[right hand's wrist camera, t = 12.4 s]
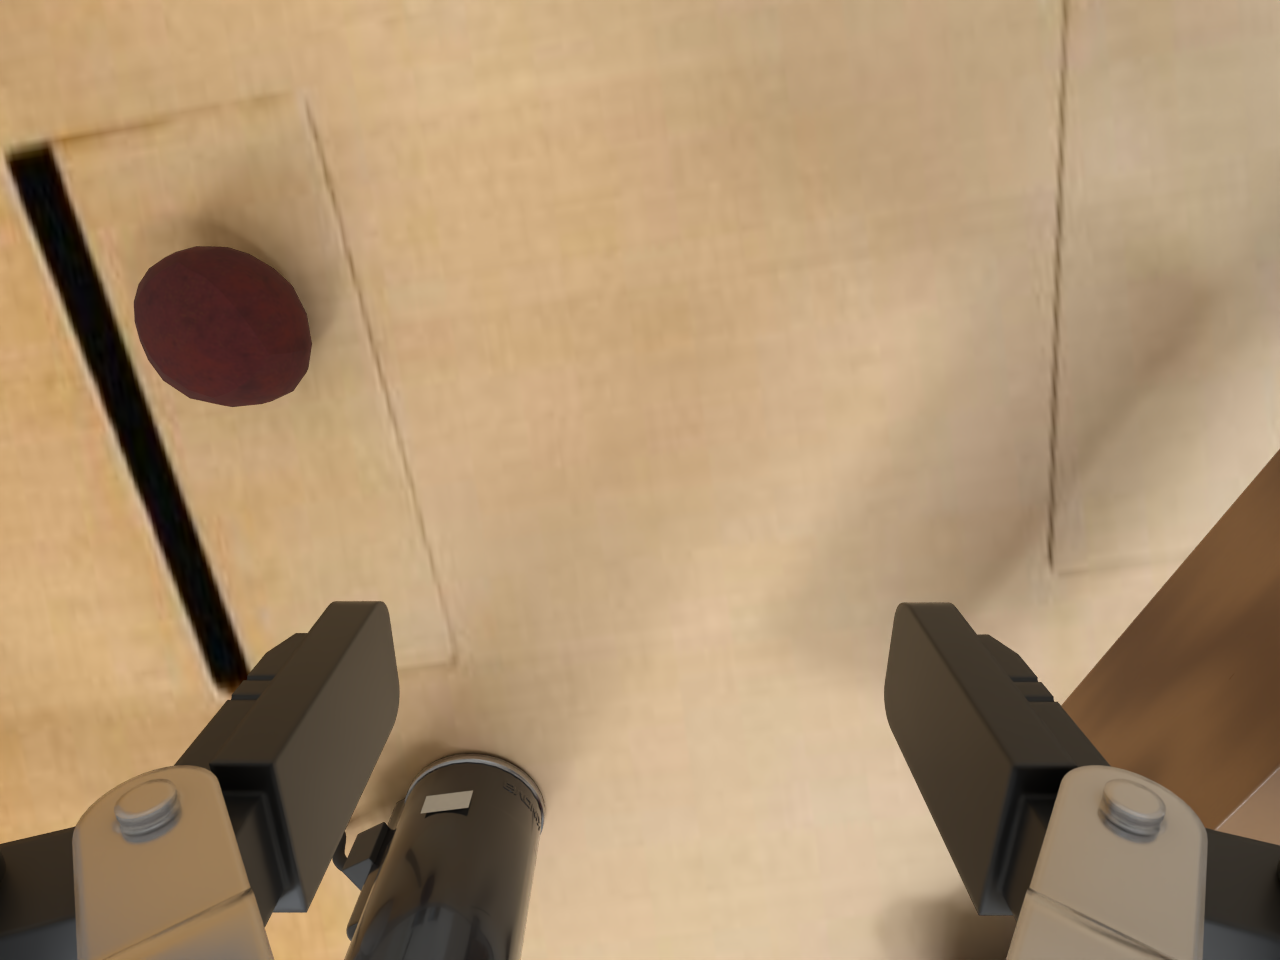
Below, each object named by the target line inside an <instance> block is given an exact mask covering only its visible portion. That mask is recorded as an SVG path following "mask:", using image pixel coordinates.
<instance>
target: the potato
mask: <svg viewBox="0 0 1280 960" xmlns="http://www.w3.org/2000/svg"><path fill="white" fill-rule="evenodd" d="M134 315H135V324H136V328H137V332H138V335H139V339H140V342H141V344H142V347H143V349H144V351H145V353H146V356H147V358H148V360H149V362H150V363H151V364H152V366H153V367H154V368H155V370H156V371H157V373H158V374H159V375H160V377H161V378H162V379H163V381H165V382H166V383H168V384H169V385H171V386H172V387H174V388H175V389H177V390H178V391H180V392H181V393H183V394H184V395H186V396H187V397H189V398H191V399H196V400H200V401H205V402H210V403H214V404H219V405H224V406H230V407H237V406H246V405H256V404H263V403H267V402H270V401H273V400H275V399H277V398H279V397H281V396H284V395H286V394H288V393H290V392H292V391H294V389H295V388H296V386H297V385H298V383H299V382H300V381H301V379H302V378H303V376H304V375H305V374H306V372H307V370H308V367H309V360H310V353H311V346H312V342H311V336H310V330H309V325H308V319H307V314H306V312H305V310H304V308H303V306H302V304H301V302H300V300H299V298H298V296H297V294H296V292H295V290H294V288H293V286H292V285H291V284H290V283H289V282H288V281H287V280H286V279H284V278H283V277H282V276H281V275H280V274H279V273H278V272H277V271H276V270H275V269H274V268H272V267H270V266H268V265H267V264H265V263H263V262H262V261H260V260H258V259H257V258H255V257H253V256H252V255H250V254H247V253H244V252H241V251H238V250H235V249H231V248H228V247H200V246H196V247H192V248H189V249H185V250H182V251H178V252H175V253H173V254H171V255H169V256H167V257H165V258H164V259H162V260H161V261H159V262H158V263H156V264H155V265H154V266H152V267H151V268H149V270H148V271H147V273H146V274H145V276H144V277H143V279H142V280H141V282H140V283H139V285H138V289H137V292H136V296H135V300H134Z"/></svg>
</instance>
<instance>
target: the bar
mask: <svg viewBox="0 0 1280 960" xmlns="http://www.w3.org/2000/svg"><path fill="white" fill-rule="evenodd" d="M1061 707H1062V708H1063V709H1064V710H1065V711H1066V713H1067V714H1068V715H1069V716H1070V717H1071V719H1072V720H1073V721H1074V722H1075V723H1076V725H1077V726H1078V727H1079V728H1080V730H1081V731H1082V732H1083V733H1084V734H1085V736H1086V737H1087V738H1088V739H1089V740H1090V742H1091V743H1092V744H1093V745H1094V746H1095V748H1096V749H1097V750H1098V751H1099V752H1100V754H1101V755H1102V756H1103V757H1104V759H1105V760H1106V761H1107V762H1108V763H1109V765H1110V766H1111V767H1116V768H1120V769H1124V770H1127V771H1130V772H1133V773H1136V774H1139V775H1141V776H1144V777H1146V778H1148V779H1151V780H1152V781H1154V782H1156V783H1158V784H1160V785H1162V786H1163V787H1165V788H1167V789H1168V790H1170V791H1171V792H1173V793H1174V794H1175V795H1177V796H1178V797H1179V798H1181V799H1182V800H1183V801H1184V802H1185V803H1186V804H1187V805H1189V806H1190V807H1191V808H1192V810H1193V811H1194V812H1195V813H1196V814H1197V815H1198V817H1199V818H1200V820H1201V821H1202V823H1203V825H1204V827H1205V828H1208V829H1212V830H1216V831H1220V832H1224V833H1229V834H1233V835H1237V836H1242V837H1246V838H1250V839H1255V840H1259V841H1263V842H1268V843H1272V844H1276V845H1280V449H1279V450H1278V452H1277V453H1276V454H1275V455H1274V456H1273V457H1272V459H1271V460H1270V461H1269V462H1268V463H1267V465H1266V466H1265V467H1264V468H1263V469H1262V470H1261V472H1260V473H1259V474H1258V475H1257V476H1256V477H1255V479H1254V480H1253V481H1252V482H1251V483H1250V485H1249V486H1248V487H1247V488H1246V489H1245V490H1244V492H1243V493H1242V494H1241V495H1240V496H1239V497H1238V499H1237V500H1236V501H1235V502H1234V503H1233V504H1232V506H1231V507H1230V508H1229V509H1228V510H1227V512H1226V513H1225V514H1224V515H1223V516H1222V517H1221V519H1220V520H1219V521H1218V522H1217V523H1216V524H1215V526H1214V527H1213V528H1212V529H1211V530H1210V532H1209V533H1208V534H1207V535H1206V536H1205V537H1204V539H1203V540H1202V541H1201V542H1200V543H1199V544H1198V546H1197V547H1196V548H1195V549H1194V550H1193V551H1192V553H1191V554H1190V555H1189V556H1188V557H1187V559H1186V560H1185V561H1184V562H1183V563H1182V564H1181V566H1180V567H1179V568H1178V569H1177V570H1176V571H1175V573H1174V574H1173V575H1172V576H1171V577H1170V578H1169V580H1168V581H1167V582H1166V583H1165V584H1164V586H1163V587H1162V588H1161V589H1160V590H1159V591H1158V593H1157V594H1156V595H1155V596H1154V597H1153V598H1152V600H1151V601H1150V602H1149V603H1148V604H1147V606H1146V607H1145V608H1144V609H1143V610H1142V611H1141V613H1140V614H1139V615H1138V616H1137V617H1136V618H1135V620H1134V621H1133V622H1132V623H1131V624H1130V625H1129V627H1128V628H1127V629H1126V630H1125V631H1124V633H1123V634H1122V635H1121V636H1120V637H1119V638H1118V640H1117V641H1116V642H1115V643H1114V644H1113V645H1112V647H1111V648H1110V649H1109V650H1108V651H1107V653H1106V654H1105V655H1104V656H1103V657H1102V658H1101V660H1100V661H1099V662H1098V663H1097V664H1096V665H1095V667H1094V668H1093V669H1092V670H1091V671H1090V672H1089V674H1088V675H1087V676H1086V677H1085V678H1084V680H1083V681H1082V682H1081V683H1080V684H1079V685H1078V687H1077V688H1076V689H1075V690H1074V691H1073V692H1072V694H1071V695H1070V696H1069V697H1068V698H1067V699H1066V701H1065V702H1064V703H1063V704H1062V705H1061Z"/></svg>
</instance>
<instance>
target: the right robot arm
mask: <svg viewBox="0 0 1280 960" xmlns="http://www.w3.org/2000/svg"><path fill="white" fill-rule="evenodd" d="M884 701H885V710H886V715H887V719H888V723H889V726H890V728H891V730H892V732H893V734H894V737H895V739H896V741H897V743H898V745H899V747H900V749H901V751H902V754H903V756H904V758H905V760H906V762H907V764H908V766H909V768H910V770H911V773H912V775H913V777H914V779H915V781H916V783H917V785H918V787H919V790H920V792H921V794H922V796H923V798H924V800H925V802H926V804H927V807H928V809H929V811H930V813H931V815H932V817H933V819H934V821H935V824H936V826H937V828H938V830H939V832H940V834H941V836H942V838H943V840H944V843H945V845H946V847H947V849H948V851H949V853H950V855H951V857H952V860H953V862H954V864H955V866H956V868H957V870H958V872H959V874H960V877H961V879H962V881H963V883H964V885H965V887H966V889H967V891H968V893H969V896H970V898H971V900H972V902H973V904H974V906H975V908H976V910H977V913H978V915H1013V916H1014V918H1015V919H1016V921H1017V925H1016V928H1015V931H1014V934H1013V938H1012V941H1011V944H1010V948H1009V951H1008V954H1007V958H1006V960H1280V845H1276V844H1272V843H1268V842H1263V841H1259V840H1255V839H1250V838H1246V837H1242V836H1237V835H1233V834H1229V833H1224V832H1220V831H1216V830H1212V829H1208V828H1205V827H1204V825H1203V823H1202V821H1201V820H1200V818H1199V817H1198V815H1197V814H1196V813H1195V812H1194V811H1193V810H1192V808H1191V807H1190V806H1189V805H1187V804H1186V803H1185V802H1184V801H1183V800H1182V799H1181V798H1179V797H1178V796H1177V795H1175V794H1174V793H1173V792H1171V791H1170V790H1168V789H1167V788H1165V787H1163V786H1162V785H1160V784H1158V783H1156V782H1154V781H1152V780H1151V779H1148V778H1146V777H1144V776H1141V775H1139V774H1136V773H1133V772H1130V771H1127V770H1124V769H1120V768H1116V767H1111V766H1110V765H1109V763H1108V762H1107V761H1106V760H1105V759H1104V757H1103V756H1102V755H1101V754H1100V752H1099V751H1098V750H1097V749H1096V748H1095V746H1094V745H1093V744H1092V743H1091V742H1090V740H1089V739H1088V738H1087V737H1086V736H1085V734H1084V733H1083V732H1082V731H1081V730H1080V728H1079V727H1078V726H1077V725H1076V723H1075V722H1074V721H1073V720H1072V719H1071V717H1070V716H1069V715H1068V714H1067V713H1066V711H1065V710H1064V709H1063V708H1062V707H1061V705H1060V704H1059V703H1058V702H1054V700H1053V696H1052V694H1051V693H1050V692H1049V691H1048V690H1047V688H1046V687H1045V686H1044V685H1043V684H1042V682H1038V680H1037V676H1036V675H1035V674H1034V673H1033V671H1032V670H1031V669H1030V668H1029V667H1028V665H1027V664H1026V663H1025V662H1024V661H1023V659H1022V658H1021V657H1020V656H1019V655H1018V654H1017V653H1015V652H1014V651H1012V650H1011V649H1009V648H1008V647H1006V646H1005V645H1003V644H1002V643H1000V642H999V641H997V640H996V639H994V638H993V637H991V636H990V635H977V634H976V633H975V632H974V630H973V629H972V628H971V626H970V625H969V624H968V622H967V621H966V620H965V619H964V617H963V616H962V615H961V613H960V612H959V611H958V609H957V608H956V607H955V606H954V605H953V604H951V603H901V604H899V606H898V607H897V609H896V613H895V617H894V624H893V630H892V637H891V644H890V651H889V658H888V665H887V672H886V679H885V687H884ZM398 706H399V680H398V673H397V666H396V659H395V652H394V645H393V638H392V631H391V624H390V617H389V612H388V609H387V606H386V605H385V603H384V602H381V601H335V602H332V603H331V604H330V605H329V606H328V607H327V608H326V610H325V611H324V612H323V614H322V615H321V616H320V618H319V619H318V620H317V622H316V623H315V624H314V626H313V627H312V628H311V630H310V631H309V632H308V633H296V634H294V635H293V636H291V637H290V638H288V639H286V640H285V641H283V642H282V643H280V644H279V645H277V646H276V647H274V648H273V649H271V650H270V651H268V652H267V653H266V654H265V655H264V656H263V657H262V659H261V660H260V661H259V662H258V664H257V665H256V666H255V667H254V668H253V670H252V671H251V672H250V673H249V675H248V676H247V681H243V682H242V683H241V684H240V686H239V687H238V688H237V689H236V690H235V692H234V693H233V694H232V699H231V700H227V701H226V703H225V704H224V705H223V706H222V708H221V709H220V710H219V711H218V712H217V714H216V715H215V716H214V717H213V718H212V720H211V721H210V722H209V723H208V725H207V726H206V727H205V728H204V729H203V731H202V732H201V733H200V734H199V736H198V737H197V738H196V739H195V740H194V742H193V743H192V744H191V745H190V747H189V748H188V749H187V750H186V751H185V753H184V754H183V755H182V756H181V758H180V759H179V760H178V761H177V762H176V764H175V765H174V766H170V767H164V768H160V769H156V770H153V771H150V772H147V773H144V774H141V775H139V776H136V777H134V778H132V779H129V780H128V781H126V782H124V783H122V784H120V785H118V786H117V787H115V788H113V789H112V790H110V791H109V792H107V793H106V794H105V795H103V796H102V797H101V798H99V799H98V800H97V801H96V802H95V803H94V804H93V805H91V806H90V807H89V808H88V810H87V811H86V812H85V813H84V814H83V815H82V817H81V818H80V820H79V821H78V823H77V825H76V827H72V828H68V829H64V830H59V831H55V832H51V833H46V834H42V835H38V836H33V837H29V838H25V839H20V840H16V841H12V842H7V843H3V844H0V960H274V958H273V954H272V951H271V948H270V944H269V941H268V938H267V934H266V931H265V926H266V924H267V922H268V920H269V918H270V916H271V914H272V912H307V911H308V908H309V906H310V904H311V902H312V900H313V898H314V896H315V893H316V891H317V889H318V887H319V885H320V883H321V881H322V878H323V876H324V874H325V872H326V870H327V868H328V866H329V863H330V861H331V859H333V863H334V864H335V866H336V867H337V868H338V869H339V870H340V871H342V872H343V873H344V874H345V875H346V876H347V877H348V878H349V879H350V880H351V881H352V882H353V883H354V884H355V885H356V886H357V887H358V888H359V889H360V890H361V893H360V895H359V898H358V900H357V903H356V905H355V908H354V910H353V913H352V915H351V918H350V920H349V923H348V925H347V936H348V938H349V939H350V941H351V943H350V946H349V949H348V951H347V954H346V956H345V959H344V960H521V953H522V947H523V940H524V934H525V928H526V921H527V915H528V908H529V902H530V896H531V889H532V883H533V877H534V870H535V864H536V858H537V851H538V845H539V838H540V834H541V832H542V828H543V823H544V816H545V806H544V801H543V797H542V795H541V792H540V790H539V789H538V787H537V785H536V784H535V783H534V781H533V780H532V779H531V778H530V777H529V776H528V775H527V774H526V773H525V772H523V771H522V770H521V769H519V768H518V767H516V766H515V765H513V764H511V763H509V762H507V761H505V760H502V759H499V758H496V757H493V756H488V755H482V754H458V755H452V756H448V757H445V758H442V759H439V760H437V761H435V762H433V763H431V764H430V765H428V766H427V767H425V768H424V769H423V770H422V771H420V773H419V774H418V775H417V776H416V777H415V778H414V780H413V782H412V783H411V785H410V788H409V790H408V793H407V795H406V798H405V799H403V800H401V801H399V802H397V803H396V806H395V808H394V811H393V813H392V816H391V818H390V821H389V823H388V826H387V825H386V823H385V822H383V823H381V824H379V825H377V826H374V827H372V828H370V829H368V830H366V831H364V832H362V833H360V834H358V835H357V838H356V840H355V842H354V844H353V847H352V849H351V851H350V853H349V856H348V858H347V857H346V856H345V844H346V833H345V829H346V827H347V825H348V823H349V820H350V818H351V816H352V814H353V812H354V810H355V808H356V805H357V803H358V801H359V799H360V797H361V795H362V793H363V790H364V788H365V786H366V784H367V782H368V780H369V778H370V775H371V773H372V771H373V769H374V767H375V765H376V763H377V760H378V758H379V756H380V754H381V752H382V750H383V747H384V745H385V743H386V741H387V739H388V737H389V735H390V732H391V730H392V728H393V726H394V723H395V720H396V716H397V712H398Z"/></svg>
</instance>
